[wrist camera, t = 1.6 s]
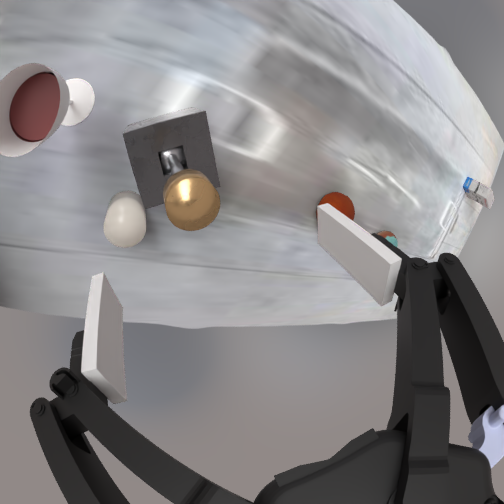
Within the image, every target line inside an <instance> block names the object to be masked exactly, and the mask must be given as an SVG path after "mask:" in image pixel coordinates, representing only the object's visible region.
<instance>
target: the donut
mask: <svg viewBox="0 0 504 504" xmlns="http://www.w3.org/2000/svg"><path fill="white" fill-rule="evenodd" d="M377 234H378V235H380V236H383V237H384V238H385V239H387V240H388V241H389V242H391V243H392V244H393V245H394V246H396V247H397V239H396V237H395V235H394V234H393V233H391V232H389V231H382V232H379V233H377Z"/></svg>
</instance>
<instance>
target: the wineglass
mask: <svg viewBox="0 0 504 504" xmlns="http://www.w3.org/2000/svg"><path fill="white" fill-rule="evenodd" d="M94 99H95V95H94V91H93V88H92V87H91V85H90V84H89V83H88V82H86V81H85V80H83V79H78V78H74V79H69V80H67V81H65V80H64V79H63V77H62V76H61V75H60V74H59V73H58V72H56V71H55V70H53V69H52V68H50V67H47V66H45V65H42V64H37V63H31V64H26V65H22V66H20V67H18V68H16V69H14V70H13V71H11V72H10V73H9V74H7V75H6V76H5V77H4V78H3V79H2V80H1V82H0V154H2V155H4V156H8V157H17V156H21V155H24V154H26V153H28V152H30V151H32V150H33V149H35V148H36V147H38V146H39V145H40V144H42V143H43V142H44V141H46V140H47V139H48V138H49V137H50V136H51V135H52V134H53V133H54V132H55V131H56V130H57V129H58V128H59V126H60V125H65V126H72V125H76V124H78V123H80V122H82V121H83V120H84V119H85V118H87V117H88V115H89V114H90V112H91V111H92V108H93V105H94Z"/></svg>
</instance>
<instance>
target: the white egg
mask: <svg viewBox="0 0 504 504" xmlns="http://www.w3.org/2000/svg"><path fill="white" fill-rule="evenodd" d="M104 233H105V236H106V238H107V239H108V240H109V242H111V243H112V244H113V245H115V246H118V247H122V248H128V247H132V246H135V245H136V244H138V243H139V242H140V241H141V240H142V239H143V237H144V235H145V233H146V213H145V208H144V205H143V202H142V199H141V196H140V195H138V194H137V193H135V192H132V191H122V192H119V193H117V194H116V195H114V196H113V198H112V199H111V201H110V203H109V206H108V210H107V214H106V217H105V221H104Z"/></svg>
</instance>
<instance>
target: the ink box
mask: <svg viewBox="0 0 504 504" xmlns="http://www.w3.org/2000/svg"><path fill="white" fill-rule="evenodd" d="M463 187H464V190H465V192H466V194H467V197H469V198H471V199H473V200H474V201H476V202H478V203H480V204H481V205H483V206H485V207H486V208H488V209H490V208H491V205H492V204H493V202H494V195H493V190H492V189H491V188H489V187H487V186H485V185H484V184H482V183H480V182H478V181H476V180H474V179H472V178H470V177H467V179H466V182H465V184H464V186H463Z"/></svg>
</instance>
